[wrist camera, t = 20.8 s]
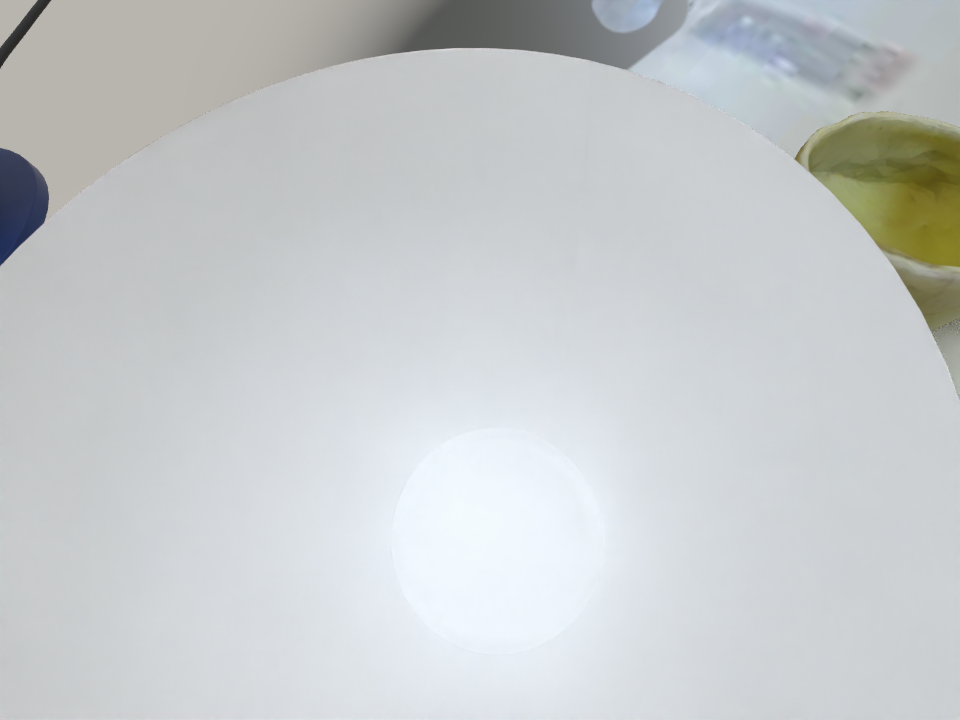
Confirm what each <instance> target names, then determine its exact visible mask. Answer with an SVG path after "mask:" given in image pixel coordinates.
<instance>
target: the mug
mask: <svg viewBox="0 0 960 720" xmlns="http://www.w3.org/2000/svg"><path fill="white" fill-rule="evenodd" d="M795 160H796V161H797V162H798V163H799V164H800V165H802V166H803V167H804V168H805V169H806V170H807V171H808V172H809V173H811V174H812V175H813V176H814V177H815V178H816V179H817V180H818V181H819V182H821V183H822V184H823V185H824V186H825V187H826V188H827V189H828V190H829V191H830V192H831V193H832V194H833V195H834V196H835V197H836V198H837V199H838V200H839V201H840V202H841V203H842V204H843V206H844V207H845V208H846V209H847V210H848V211H849V212H850V213H851V214H852V215H853V216H854V217H855V218H856V220H857V221H858V222H859V223H860V224H861V225H862V226H863V227H864V229H865V230H866V231H867V233H868V234H869V235H870V237H871V238H872V239H873V240H874V242H875V243H876V244H877V246H878V247H879V248H880V250H881V251H882V252H883V254H884V255H885V256H886V258H887V259H888V260H889V261H890V263H891V264H892V265H893V267H894V268H895V270H896V272H897V273H898V275H899V277H900V278H901V280H902V281H903V283H904V285H905V286H906V288H907V290H908V291H909V293H910V294H911V296H912V298H913V299H914V301H915V302H916V304H917V306H918V307H919V309H920V311H921V312H922V314H923V316H924V318H925V320H926V323H927V325H928V327H929V329H930V331H933V330H935V329H937V328H939V327H941V326H943V325H946V324H948V323H950V322H952V321H954V320H956V319H958V318H960V127H957V126H954V125H951V124H948V123H945V122H941V121H938V120H932V119H929V118H925V117H919V116H913V115H907V114H901V113H896V112H883V111H882V112H875V113H874V112H862V113H857V114H854V115H851V116H849V117H848V118H846V119H844V120H842V121H841V122H839V123H836V124H833V125H829V126H825V127H822V128H820V129H818V130H817V132H815V133H814V134H813V135H812V136H811V137H810V138H809V140H808V141H807V142H806V143H805V144H804V145H803V146H802V148H801V149H800V151H799V152H798V154H797V155H796V157H795Z"/></svg>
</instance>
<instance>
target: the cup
mask: <svg viewBox="0 0 960 720" xmlns="http://www.w3.org/2000/svg"><path fill="white" fill-rule="evenodd" d="M0 720H960V400H959V397H958V395H957V392H956V389H955V386H954V383H953V381H952V378H951V375H950V372H949V369H948V367H947V364H946V362H945V360H944V358H943V356H942V354H941V352H940V349H939V347H938V345H937V343H936V341H935V339H934V337H933V335H932V333H931V331H930V329H929V327H928V325H927V323H926V320H925V318H924V316H923V314H922V312H921V311H920V309H919V307H918V306H917V304H916V302H915V301H914V299H913V298H912V296H911V294H910V293H909V291H908V290H907V288H906V286H905V285H904V283H903V281H902V280H901V278H900V277H899V275H898V273H897V272H896V270H895V268H894V267H893V265H892V264H891V263H890V261H889V260H888V259H887V258H886V256H885V255H884V254H883V252H882V251H881V250H880V248H879V247H878V246H877V244H876V243H875V242H874V240H873V239H872V238H871V237H870V235H869V234H868V233H867V231H866V230H865V229H864V227H863V226H862V225H861V224H860V223H859V222H858V221H857V220H856V218H855V217H854V216H853V215H852V214H851V213H850V212H849V211H848V210H847V209H846V208H845V207H844V206H843V204H842V203H841V202H840V201H839V200H838V199H837V198H836V197H835V196H834V195H833V194H832V193H831V192H830V191H829V190H828V189H827V188H826V187H825V186H824V185H823V184H822V183H821V182H819V181H818V180H817V179H816V178H815V177H814V176H813V175H812V174H811V173H809V172H808V171H807V170H806V169H805V168H804V167H803V166H802V165H800V164H799V163H798V162H797V161H796V160H795V159H793V158H792V157H791V156H789V155H788V154H787V153H785V152H784V151H783V150H781V149H780V148H779V147H777V146H776V145H775V144H773V143H772V142H771V141H769V140H768V139H767V138H765V137H764V136H763V135H761V134H759V133H758V132H756V131H755V130H753V129H751V128H750V127H748V126H747V125H745V124H743V123H742V122H740V121H739V120H737V119H735V118H734V117H732V116H731V115H729V114H727V113H725V112H723V111H721V110H719V109H718V108H716V107H714V106H712V105H710V104H708V103H706V102H704V101H702V100H700V99H698V98H696V97H694V96H692V95H690V94H687V93H685V92H683V91H680V90H678V89H676V88H673V87H671V86H669V85H666V84H664V83H662V82H659V81H656V80H653V79H650V78H647V77H644V76H642V75H639V74H636V73H633V72H630V71H627V70H624V69H620V68H616V67H612V66H608V65H604V64H601V63H597V62H593V61H589V60H583V59H578V58H573V57H567V56H562V55H557V54H549V53H541V52H533V51H525V50H510V49H493V48H454V49H438V50H423V51H414V52H406V53H397V54H390V55H385V56H379V57H373V58H367V59H361V60H357V61H352V62H348V63H344V64H339V65H335V66H331V67H327V68H323V69H320V70H317V71H313V72H310V73H307V74H303V75H299V76H296V77H293V78H290V79H287V80H285V81H281V82H278V83H276V84H273V85H270V86H267V87H265V88H262V89H259V90H257V91H254V92H252V93H249V94H247V95H245V96H242V97H240V98H237V99H235V100H232V101H230V102H228V103H226V104H224V105H222V106H220V107H218V108H216V109H213V110H211V111H209V112H207V113H205V114H203V115H201V116H199V117H197V118H195V119H193V120H191V121H189V122H187V123H186V124H184V125H182V126H180V127H178V128H176V129H175V130H172V131H171V132H169V133H167V134H166V135H164V136H162V137H161V138H159V139H157V140H156V141H154V142H152V143H151V144H149V145H147V146H146V147H144V148H142V149H141V150H139V151H138V152H136V153H135V154H133V155H132V156H130V157H129V158H127V159H126V160H124V161H123V162H121V163H120V164H118V165H117V166H115V167H114V168H112V169H111V170H110V171H108V172H107V173H105V174H104V175H103V176H102V177H100V178H99V179H98V180H96V181H95V182H94V183H92V184H91V185H90V186H88V187H87V188H86V189H84V190H83V191H82V192H80V193H79V194H78V195H76V196H75V197H74V198H73V199H72V200H71V201H69V202H68V203H67V204H66V205H65V206H63V207H62V208H61V209H60V210H59V211H58V212H56V213H55V214H54V215H53V216H52V217H50V218H49V219H48V220H47V221H46V222H45V223H44V224H43V225H42V226H41V227H39V228H38V229H37V230H36V231H35V232H34V233H33V234H32V235H31V236H30V237H29V238H28V239H27V240H26V241H25V242H23V243H22V244H21V245H20V246H19V247H18V248H17V249H16V250H15V251H14V252H13V253H12V254H11V256H10V257H9V258H8V259H7V260H6V261H5V262H4V263H3V264H2V265H1V266H0Z"/></svg>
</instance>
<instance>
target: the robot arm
mask: <svg viewBox="0 0 960 720" xmlns="http://www.w3.org/2000/svg"><path fill="white" fill-rule="evenodd" d="M50 1H51V0H38V1H37V2H36V4H35V5H34V6H33V7H32V8H31V10H30V11H29V12H28V13H27V15H26V16H25V17H24V19H23V20H22V21H21V23H20V24H19V25H18V26H17V28H16V29H15V30H14V31H13V33H12V34H11V35H10V37H9V38H8V39H7V40H6V41H5V43H4V44H3V45H2V46H1V48H0V68H1V66H2V65H3V63H4V62H5V60H6V59H7V57H8V56H9V55H10V53H11V52H12V51H13V49H14V48H15V47H16V45H17V44H18V43H19V42H20V40H21V39H22V38H23V36H24V35H25V34H26V33H27V31H28V30H29V29H30V27H31V26H32V25H33V23H34V22H35V21H36V19H37V18H38V17H39V15H40V14H41V13H42V11H43V10H44V9H45V8H46V6H47V5H48V4H49V2H50Z"/></svg>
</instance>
